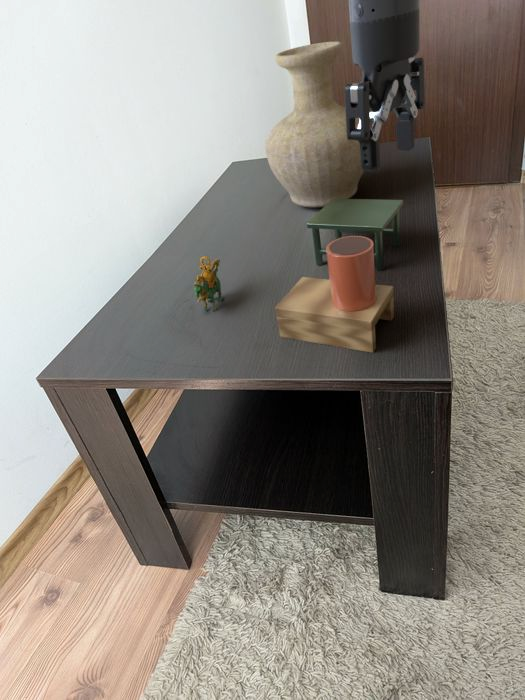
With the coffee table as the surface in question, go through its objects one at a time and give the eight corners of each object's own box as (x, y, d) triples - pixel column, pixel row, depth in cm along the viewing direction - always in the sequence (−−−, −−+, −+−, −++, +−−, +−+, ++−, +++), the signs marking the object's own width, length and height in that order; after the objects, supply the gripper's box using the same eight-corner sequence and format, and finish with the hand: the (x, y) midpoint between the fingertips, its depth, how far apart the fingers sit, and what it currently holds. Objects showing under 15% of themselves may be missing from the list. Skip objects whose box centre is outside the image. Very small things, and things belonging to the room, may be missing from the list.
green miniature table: (403, 243, 91) (403, 199, 86) (383, 272, 84) (382, 227, 79) (336, 239, 97) (332, 198, 93) (312, 266, 90) (306, 223, 85)
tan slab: (394, 316, 73) (393, 286, 70) (373, 352, 67) (371, 321, 64) (306, 304, 80) (302, 276, 77) (280, 337, 74) (274, 308, 71)
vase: (397, 196, 109) (393, 34, 92) (307, 230, 103) (285, 63, 86) (338, 175, 126) (325, 36, 109) (258, 204, 120) (231, 61, 103)
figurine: (194, 321, 82) (181, 276, 77) (217, 283, 91) (206, 241, 86) (212, 321, 81) (199, 275, 76) (233, 283, 90) (223, 240, 86)
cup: (382, 290, 70) (380, 236, 65) (367, 314, 66) (363, 258, 61) (341, 286, 73) (336, 234, 68) (325, 308, 69) (318, 254, 64)
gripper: (379, 19, 50) (385, 181, 60) (446, -4, 58) (442, 143, 67) (318, 27, 55) (333, 177, 64) (387, 5, 63) (391, 141, 72)
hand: (389, 159), depth 66 cm, fingers open, 8 cm apart
